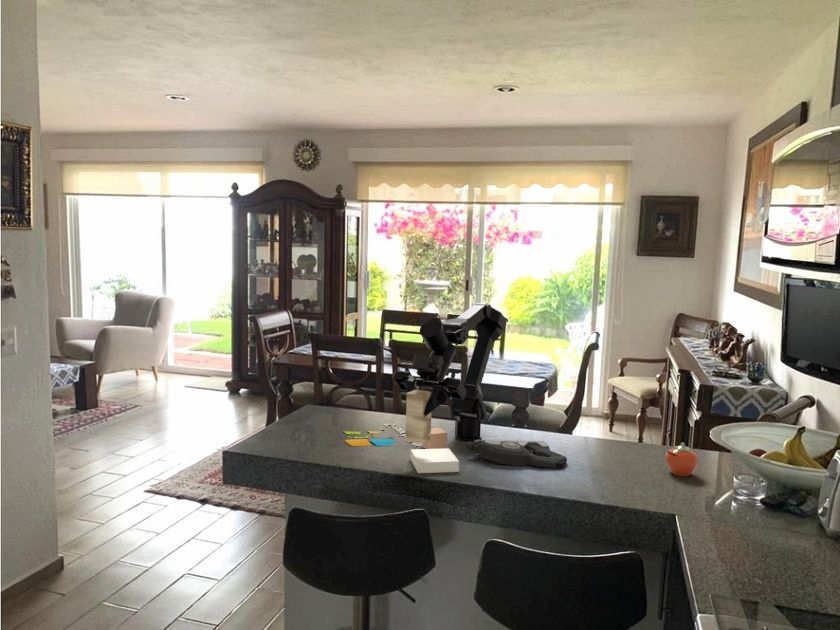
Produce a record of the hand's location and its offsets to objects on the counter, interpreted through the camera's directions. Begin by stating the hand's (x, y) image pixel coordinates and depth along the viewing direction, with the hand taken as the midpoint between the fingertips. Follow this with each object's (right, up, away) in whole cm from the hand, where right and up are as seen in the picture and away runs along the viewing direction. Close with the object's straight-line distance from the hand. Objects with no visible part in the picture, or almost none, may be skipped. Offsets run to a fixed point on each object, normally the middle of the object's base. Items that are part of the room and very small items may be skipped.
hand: (416, 413), depth 147 cm
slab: (+4, -14, +3) cm, 15 cm away
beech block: (0, -7, +2) cm, 7 cm away
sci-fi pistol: (+26, -14, +9) cm, 31 cm away
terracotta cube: (+5, -12, +16) cm, 21 cm away
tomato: (+66, -16, +3) cm, 67 cm away
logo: (-11, -11, +24) cm, 29 cm away
